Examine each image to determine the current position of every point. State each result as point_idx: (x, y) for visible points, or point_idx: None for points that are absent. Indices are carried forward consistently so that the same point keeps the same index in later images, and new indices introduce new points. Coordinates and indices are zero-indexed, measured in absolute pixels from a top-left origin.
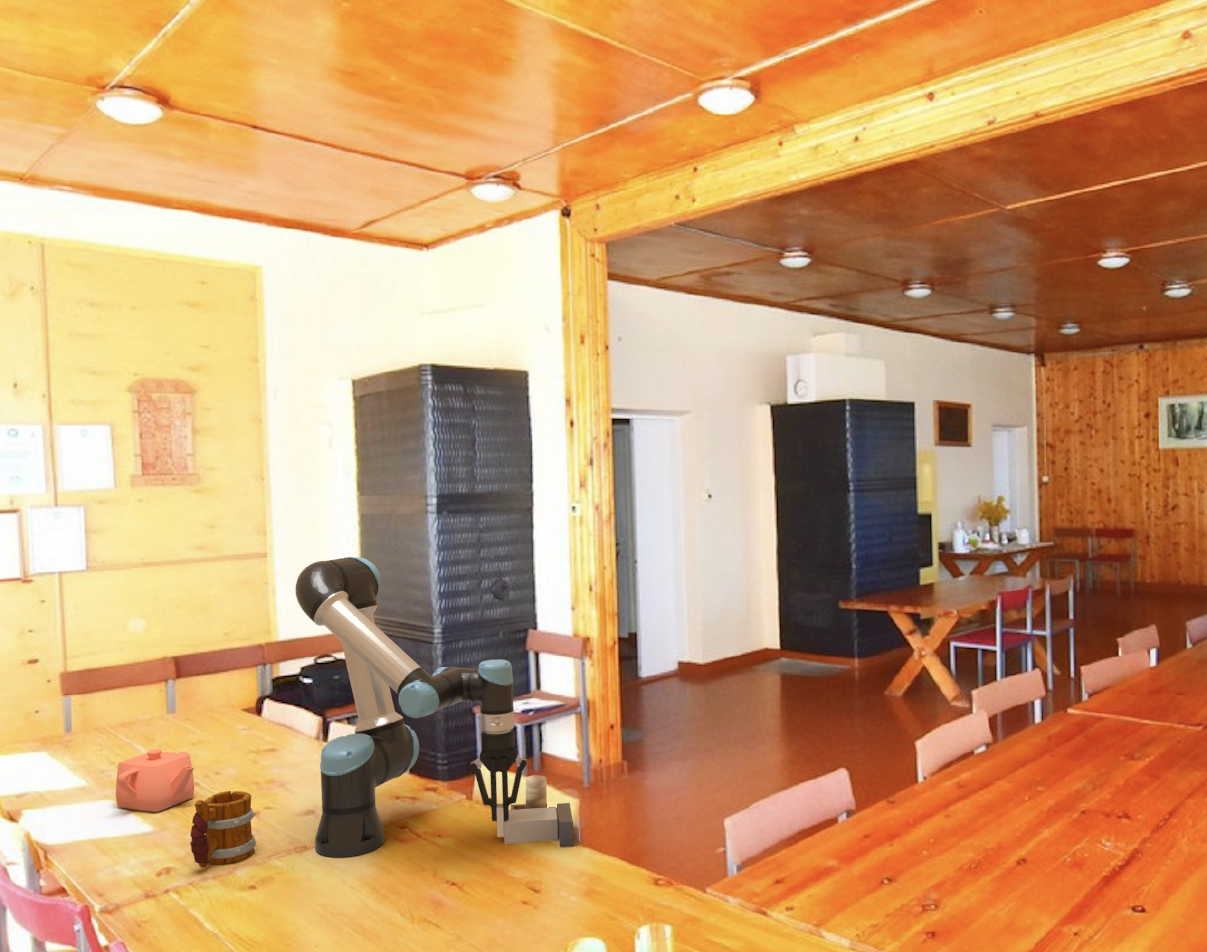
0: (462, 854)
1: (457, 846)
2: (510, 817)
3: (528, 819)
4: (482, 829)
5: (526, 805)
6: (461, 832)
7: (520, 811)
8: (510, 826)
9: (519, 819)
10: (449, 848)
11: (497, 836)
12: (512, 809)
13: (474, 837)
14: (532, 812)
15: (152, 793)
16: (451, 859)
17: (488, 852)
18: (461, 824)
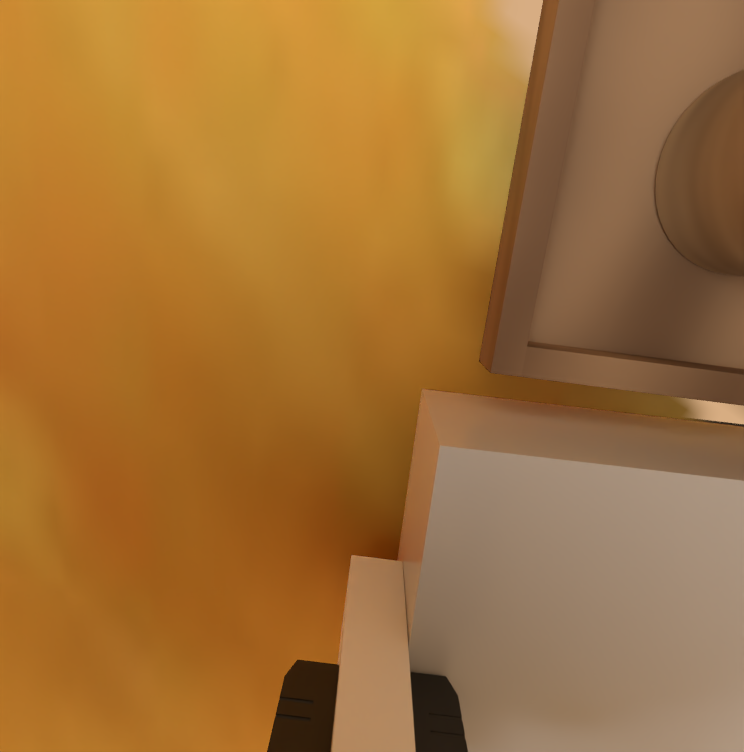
0: (112, 698)
1: (72, 571)
2: (474, 657)
3: (629, 749)
4: (254, 303)
5: (736, 189)
6: (86, 317)
7: (609, 530)
8: None
9: (548, 724)
10: (20, 587)
11: (340, 639)
12: (573, 19)
13: (188, 449)
14: (721, 594)
15: None
16: (49, 745)
17: (273, 715)
18: (75, 122)
